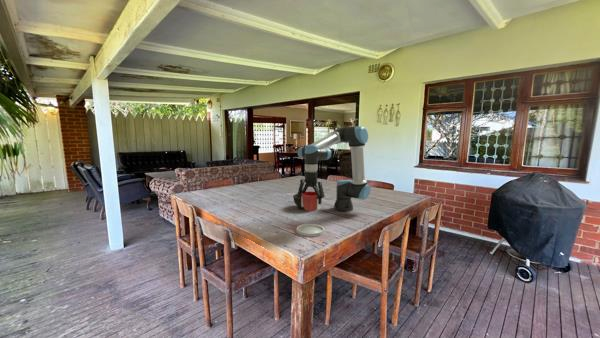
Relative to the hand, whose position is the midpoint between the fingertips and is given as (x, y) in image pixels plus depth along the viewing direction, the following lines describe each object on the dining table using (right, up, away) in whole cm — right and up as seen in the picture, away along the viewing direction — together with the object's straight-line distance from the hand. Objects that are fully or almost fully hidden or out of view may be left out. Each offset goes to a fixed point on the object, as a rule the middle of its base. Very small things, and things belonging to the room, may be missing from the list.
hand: (310, 207), depth 156 cm
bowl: (-1, -8, +52) cm, 52 cm away
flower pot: (0, -1, 0) cm, 1 cm away
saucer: (0, -15, +2) cm, 15 cm away
